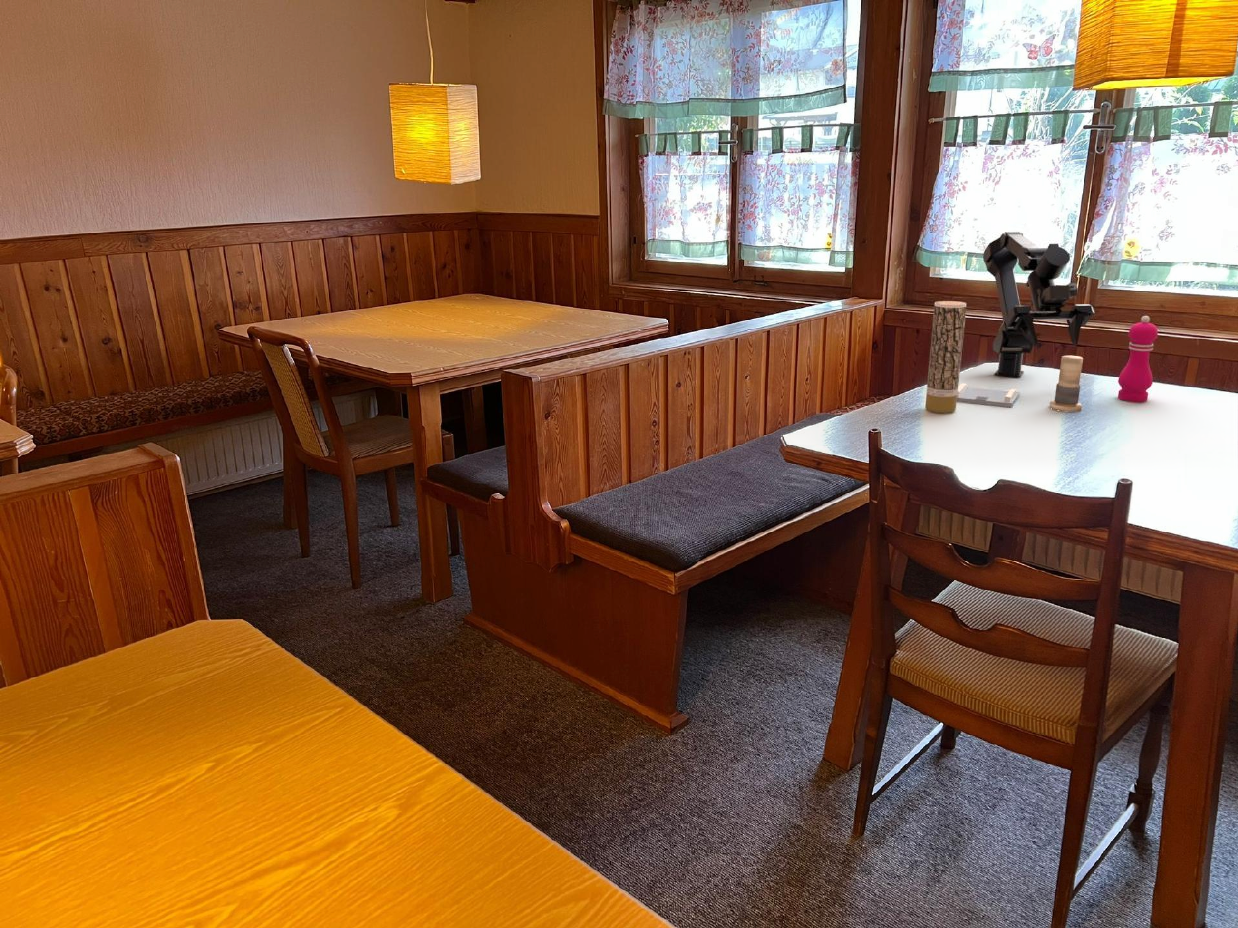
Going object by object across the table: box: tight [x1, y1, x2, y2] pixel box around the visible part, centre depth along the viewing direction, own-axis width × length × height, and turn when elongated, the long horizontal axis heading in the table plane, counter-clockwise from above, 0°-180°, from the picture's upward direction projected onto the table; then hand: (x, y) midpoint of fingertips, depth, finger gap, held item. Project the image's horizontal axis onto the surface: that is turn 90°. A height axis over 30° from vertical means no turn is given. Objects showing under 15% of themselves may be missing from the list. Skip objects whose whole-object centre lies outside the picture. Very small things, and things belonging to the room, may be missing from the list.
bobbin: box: [1049, 355, 1084, 413], centre depth 210 cm, size 7×7×12 cm
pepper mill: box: [1117, 315, 1159, 403], centre depth 215 cm, size 7×7×20 cm
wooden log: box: [925, 300, 967, 414], centre depth 208 cm, size 7×7×25 cm
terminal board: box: [957, 383, 1021, 408], centre depth 221 cm, size 12×14×2 cm
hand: (1056, 345), depth 215 cm, fingers open, 9 cm apart
